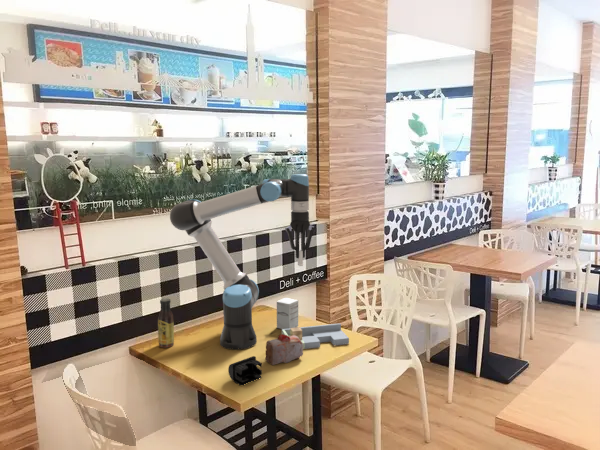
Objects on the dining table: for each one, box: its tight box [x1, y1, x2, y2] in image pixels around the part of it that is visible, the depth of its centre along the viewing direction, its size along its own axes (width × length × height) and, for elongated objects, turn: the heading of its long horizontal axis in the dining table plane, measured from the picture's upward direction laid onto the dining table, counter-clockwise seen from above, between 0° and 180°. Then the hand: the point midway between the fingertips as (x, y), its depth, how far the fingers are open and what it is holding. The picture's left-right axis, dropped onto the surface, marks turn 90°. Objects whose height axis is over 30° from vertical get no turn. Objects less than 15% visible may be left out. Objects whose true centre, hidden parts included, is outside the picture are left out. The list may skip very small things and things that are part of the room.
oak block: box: [290, 326, 302, 340], centre depth 207 cm, size 4×4×4 cm
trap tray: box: [281, 322, 350, 350], centre depth 210 cm, size 26×11×5 cm, turn 105°
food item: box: [264, 333, 304, 366], centre depth 193 cm, size 14×8×10 cm, turn 122°
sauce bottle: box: [157, 297, 175, 349], centre depth 206 cm, size 6×6×20 cm
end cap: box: [227, 355, 263, 386], centre depth 177 cm, size 10×7×7 cm
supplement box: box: [276, 297, 299, 330], centre depth 226 cm, size 7×7×13 cm
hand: (300, 265), depth 216 cm, fingers closed
